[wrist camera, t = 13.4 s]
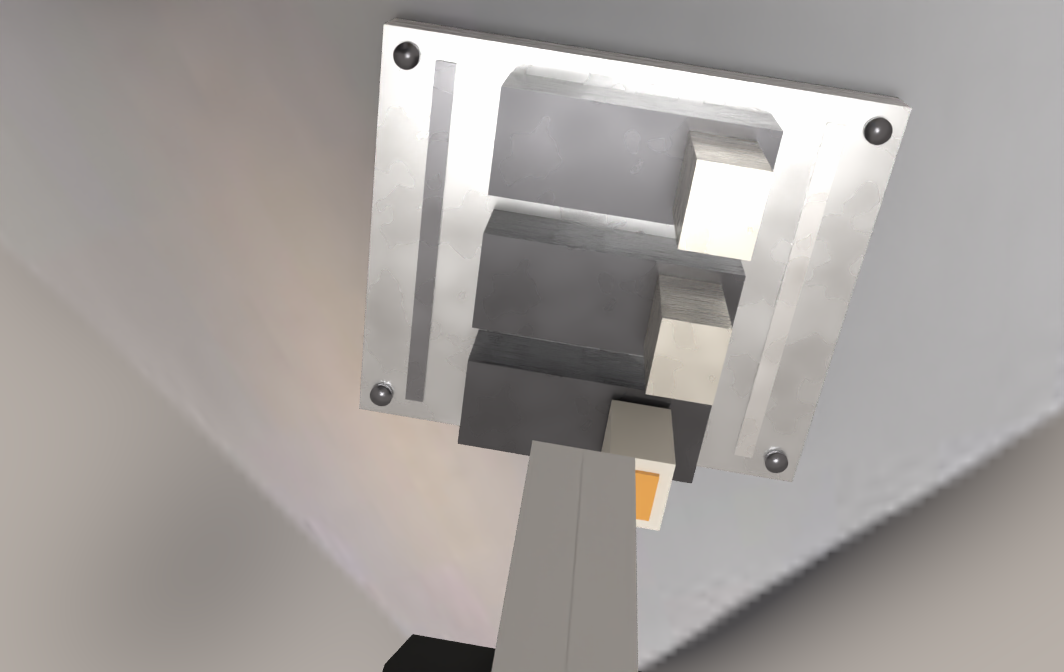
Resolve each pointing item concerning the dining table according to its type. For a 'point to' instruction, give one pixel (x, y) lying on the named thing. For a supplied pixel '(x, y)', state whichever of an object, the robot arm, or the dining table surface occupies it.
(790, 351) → the panel
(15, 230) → the dining table surface
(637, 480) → the block with orange pad
